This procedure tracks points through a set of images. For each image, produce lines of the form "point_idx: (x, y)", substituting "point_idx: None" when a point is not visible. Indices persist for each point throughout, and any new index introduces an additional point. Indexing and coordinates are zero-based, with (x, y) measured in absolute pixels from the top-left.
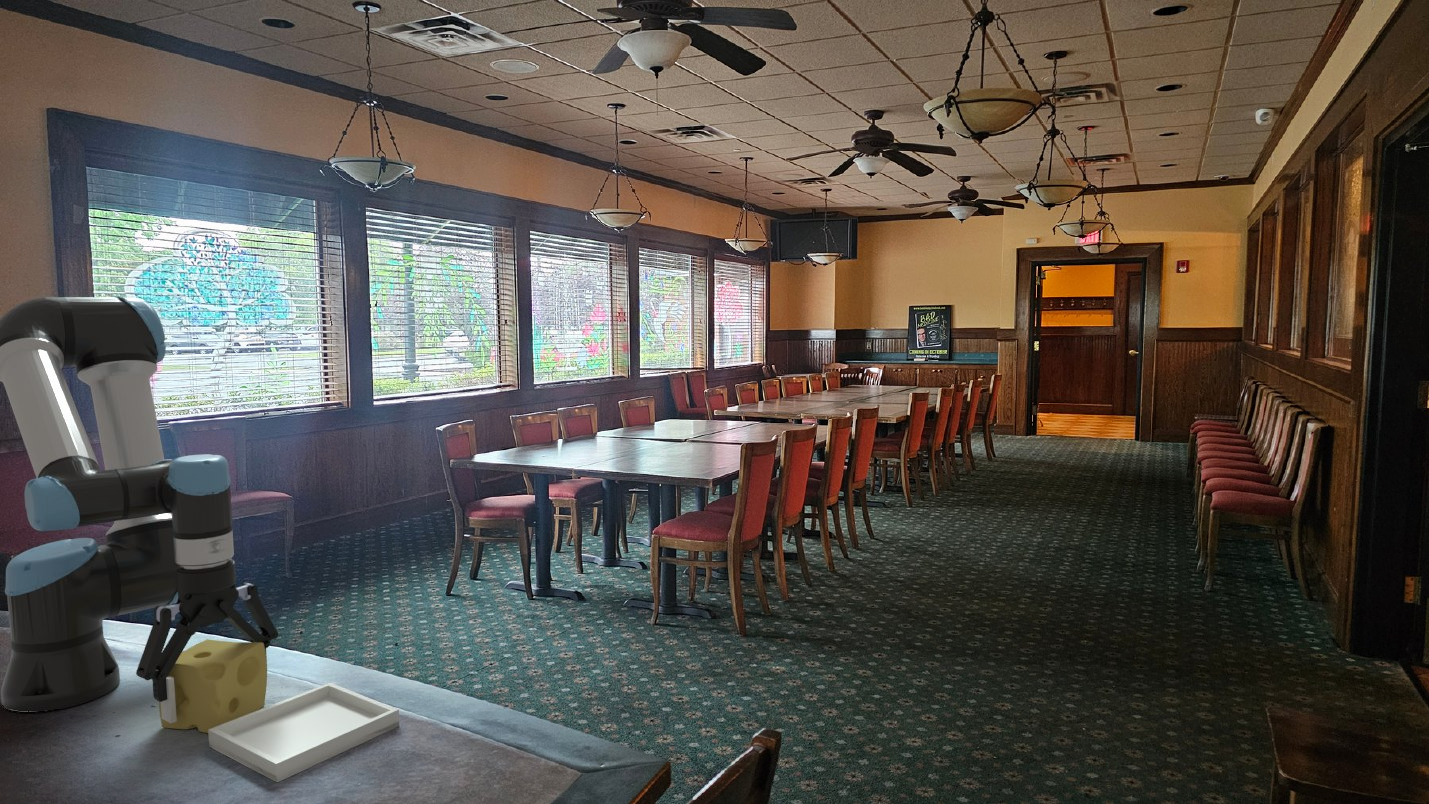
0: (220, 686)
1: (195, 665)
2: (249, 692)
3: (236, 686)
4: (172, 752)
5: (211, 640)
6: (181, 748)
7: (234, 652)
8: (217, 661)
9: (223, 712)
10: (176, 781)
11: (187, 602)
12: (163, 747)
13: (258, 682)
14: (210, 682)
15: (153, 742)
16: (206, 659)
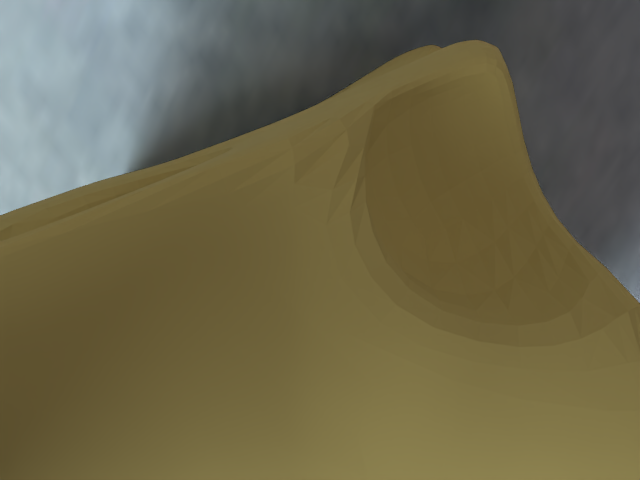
0: (443, 52)
1: (626, 384)
2: (169, 161)
3: (257, 130)
4: (624, 84)
5: None
6: (579, 89)
7: (95, 377)
8: (378, 299)
9: (395, 61)
10: None
11: None
12: (607, 171)
13: (78, 190)
14: (516, 122)
15: (593, 254)
16: (425, 452)
